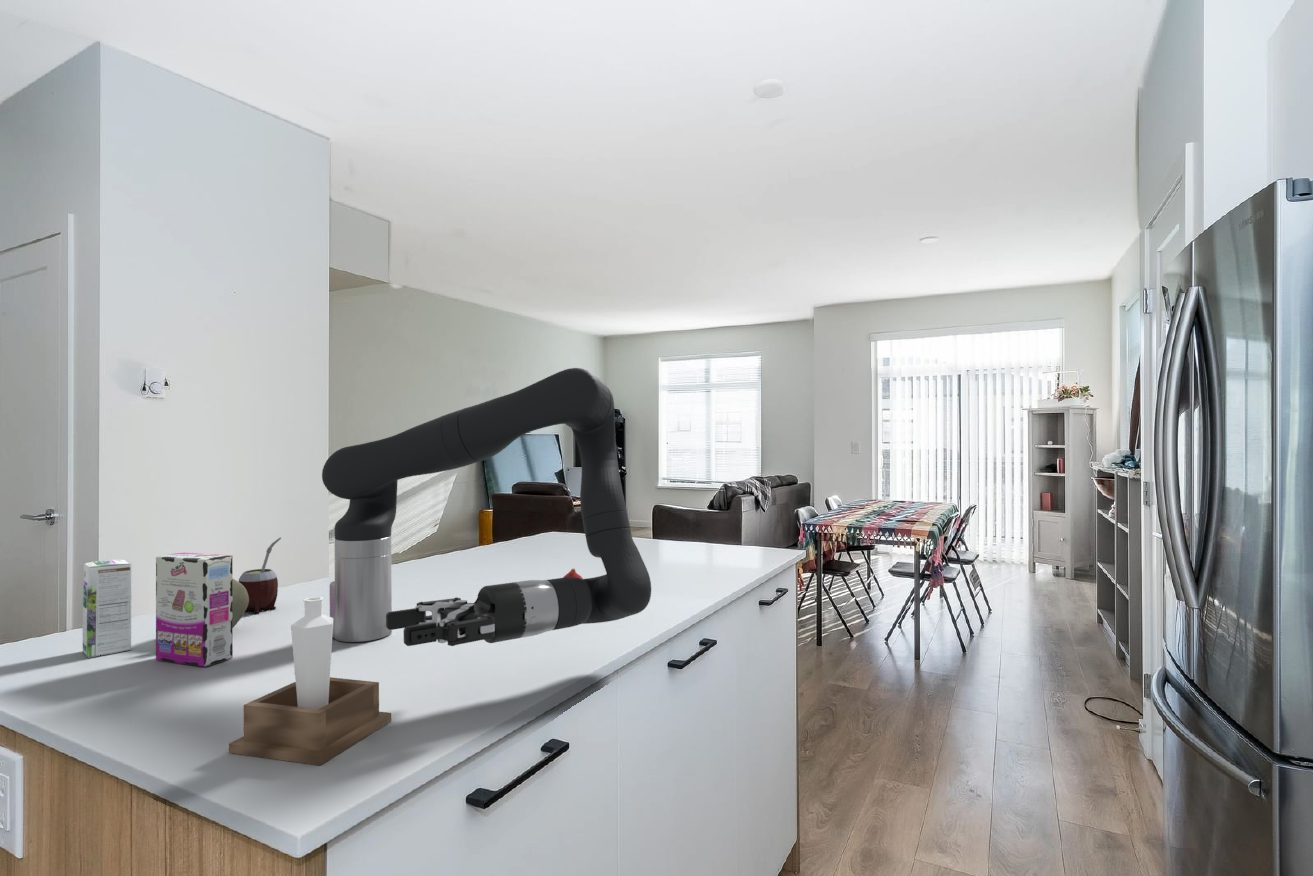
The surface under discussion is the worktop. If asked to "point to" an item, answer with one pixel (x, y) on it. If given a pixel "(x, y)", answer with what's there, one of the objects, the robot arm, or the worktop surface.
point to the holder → (310, 723)
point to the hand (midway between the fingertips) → (395, 628)
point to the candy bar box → (194, 608)
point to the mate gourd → (261, 586)
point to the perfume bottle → (312, 655)
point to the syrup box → (107, 607)
